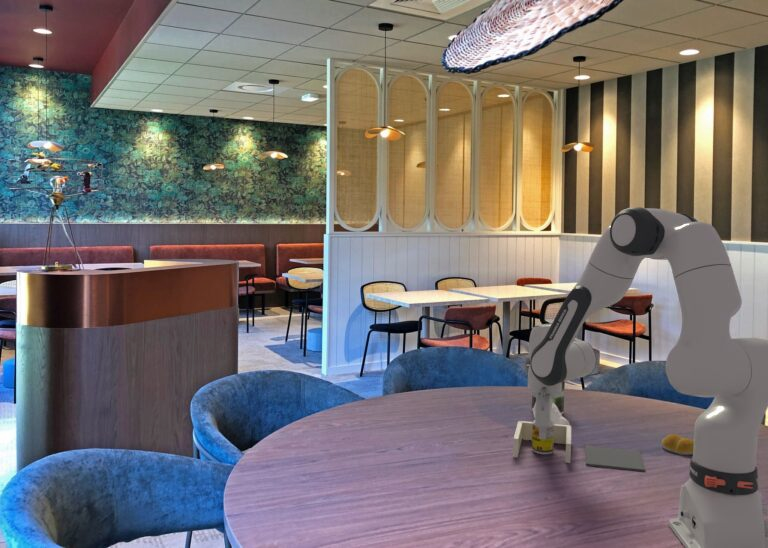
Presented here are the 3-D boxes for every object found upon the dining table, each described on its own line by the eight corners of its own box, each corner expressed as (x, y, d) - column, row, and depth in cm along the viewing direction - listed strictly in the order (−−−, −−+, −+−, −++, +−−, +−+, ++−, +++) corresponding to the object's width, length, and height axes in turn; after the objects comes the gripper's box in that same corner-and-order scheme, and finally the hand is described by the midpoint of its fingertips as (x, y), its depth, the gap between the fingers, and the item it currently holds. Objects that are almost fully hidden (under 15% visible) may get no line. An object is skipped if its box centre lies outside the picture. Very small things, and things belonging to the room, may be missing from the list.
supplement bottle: (528, 449, 180) (529, 411, 179) (546, 447, 182) (547, 410, 181) (538, 456, 175) (539, 418, 174) (557, 454, 177) (558, 416, 176)
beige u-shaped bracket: (570, 463, 170) (571, 444, 170) (513, 457, 174) (513, 438, 174) (570, 443, 185) (571, 425, 185) (517, 438, 189) (518, 420, 189)
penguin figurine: (546, 394, 203) (577, 408, 193) (543, 421, 204) (574, 436, 194) (531, 397, 199) (562, 411, 190) (528, 424, 201) (559, 439, 191)
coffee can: (563, 417, 210) (565, 373, 208) (530, 414, 213) (531, 370, 211) (564, 408, 219) (566, 366, 218) (532, 405, 222) (533, 363, 221)
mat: (645, 471, 165) (645, 469, 165) (586, 465, 169) (586, 463, 169) (639, 452, 179) (639, 450, 178) (585, 447, 182) (585, 445, 182)
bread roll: (690, 458, 175) (691, 443, 175) (657, 449, 182) (658, 435, 182) (704, 451, 181) (705, 437, 180) (671, 442, 187) (672, 428, 187)
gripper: (556, 394, 166) (554, 448, 167) (557, 376, 186) (556, 424, 187) (530, 392, 168) (528, 446, 169) (534, 374, 187) (533, 422, 189)
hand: (543, 434), depth 178 cm, fingers closed on supplement bottle, 5 cm apart
